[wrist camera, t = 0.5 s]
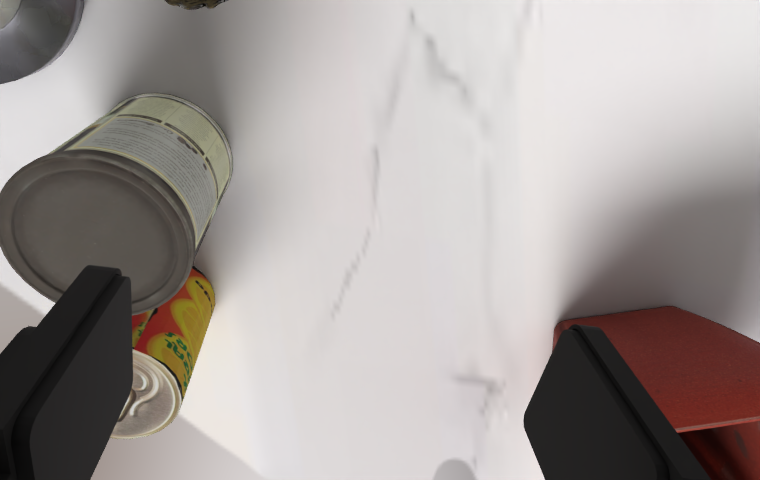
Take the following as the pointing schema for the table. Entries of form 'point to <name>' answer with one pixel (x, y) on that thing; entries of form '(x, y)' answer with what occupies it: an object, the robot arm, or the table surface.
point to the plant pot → (694, 382)
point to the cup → (195, 3)
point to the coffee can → (119, 200)
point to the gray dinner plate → (35, 34)
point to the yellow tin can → (165, 357)
